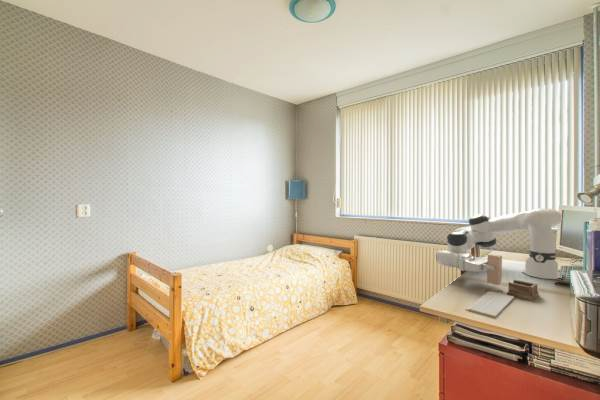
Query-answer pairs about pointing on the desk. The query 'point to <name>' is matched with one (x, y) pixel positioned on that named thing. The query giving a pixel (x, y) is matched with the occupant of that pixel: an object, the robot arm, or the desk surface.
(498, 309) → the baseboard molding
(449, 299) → the desk surface
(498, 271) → the clay strip
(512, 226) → the robot arm
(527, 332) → the desk surface
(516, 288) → the slotted wooden stand
